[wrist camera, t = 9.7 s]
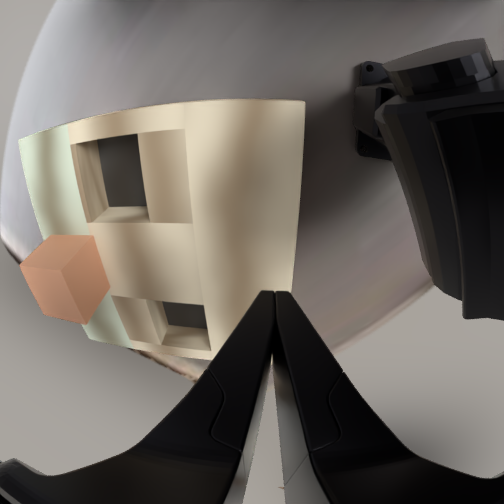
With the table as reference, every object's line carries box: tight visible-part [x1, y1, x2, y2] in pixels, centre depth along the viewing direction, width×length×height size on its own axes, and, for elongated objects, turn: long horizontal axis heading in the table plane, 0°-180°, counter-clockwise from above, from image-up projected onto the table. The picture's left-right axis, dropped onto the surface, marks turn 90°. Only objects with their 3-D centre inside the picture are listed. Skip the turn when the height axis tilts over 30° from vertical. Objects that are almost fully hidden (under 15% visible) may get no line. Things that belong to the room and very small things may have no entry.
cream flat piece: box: [18, 99, 305, 364], centre depth 21 cm, size 21×22×3 cm
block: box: [19, 235, 110, 325], centre depth 18 cm, size 5×5×4 cm
